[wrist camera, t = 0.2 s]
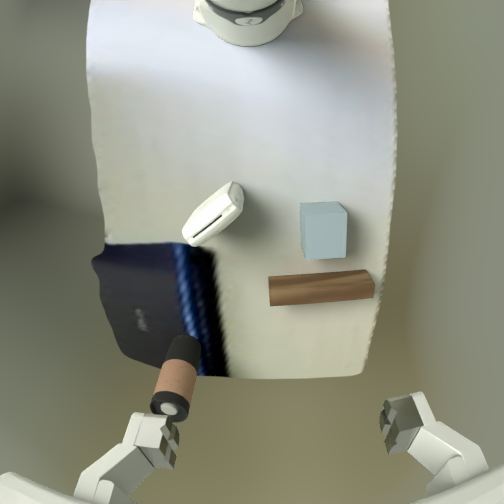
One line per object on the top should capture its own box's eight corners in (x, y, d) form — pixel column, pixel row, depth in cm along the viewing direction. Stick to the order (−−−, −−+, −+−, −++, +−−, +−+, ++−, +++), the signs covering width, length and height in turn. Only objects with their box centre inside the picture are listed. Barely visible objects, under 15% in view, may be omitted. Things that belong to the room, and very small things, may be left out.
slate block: (299, 203, 55) (305, 214, 49) (337, 201, 55) (347, 212, 48) (300, 243, 58) (305, 260, 52) (336, 241, 58) (345, 257, 52)
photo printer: (233, 176, 53) (226, 192, 42) (248, 195, 55) (246, 216, 43) (190, 211, 56) (173, 235, 45) (205, 228, 57) (192, 256, 46)
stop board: (268, 276, 61) (269, 292, 56) (365, 269, 60) (374, 284, 55) (269, 289, 62) (270, 306, 57) (364, 282, 62) (373, 297, 56)
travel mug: (204, 357, 71) (191, 424, 53) (174, 356, 71) (155, 421, 53) (199, 333, 68) (183, 401, 49) (167, 333, 68) (144, 398, 50)
